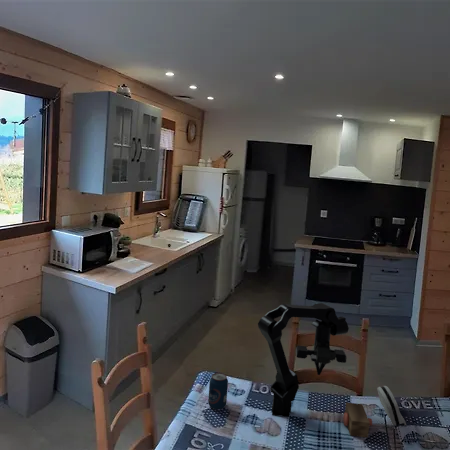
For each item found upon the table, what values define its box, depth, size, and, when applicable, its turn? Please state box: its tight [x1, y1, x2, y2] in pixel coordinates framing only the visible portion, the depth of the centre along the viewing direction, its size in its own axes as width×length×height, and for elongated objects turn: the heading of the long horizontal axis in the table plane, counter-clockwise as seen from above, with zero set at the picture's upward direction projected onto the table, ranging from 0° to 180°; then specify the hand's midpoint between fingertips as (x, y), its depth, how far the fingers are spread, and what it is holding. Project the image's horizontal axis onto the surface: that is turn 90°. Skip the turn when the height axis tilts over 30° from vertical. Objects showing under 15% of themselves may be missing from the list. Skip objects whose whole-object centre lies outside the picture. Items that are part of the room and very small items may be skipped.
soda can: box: [207, 372, 229, 410], centre depth 167 cm, size 7×7×12 cm
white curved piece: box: [376, 385, 407, 426], centre depth 171 cm, size 17×5×10 cm, turn 177°
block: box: [344, 401, 370, 439], centre depth 160 cm, size 6×12×6 cm, turn 175°
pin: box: [342, 412, 373, 427], centre depth 160 cm, size 10×4×4 cm, turn 85°
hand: (318, 374), depth 173 cm, fingers closed
